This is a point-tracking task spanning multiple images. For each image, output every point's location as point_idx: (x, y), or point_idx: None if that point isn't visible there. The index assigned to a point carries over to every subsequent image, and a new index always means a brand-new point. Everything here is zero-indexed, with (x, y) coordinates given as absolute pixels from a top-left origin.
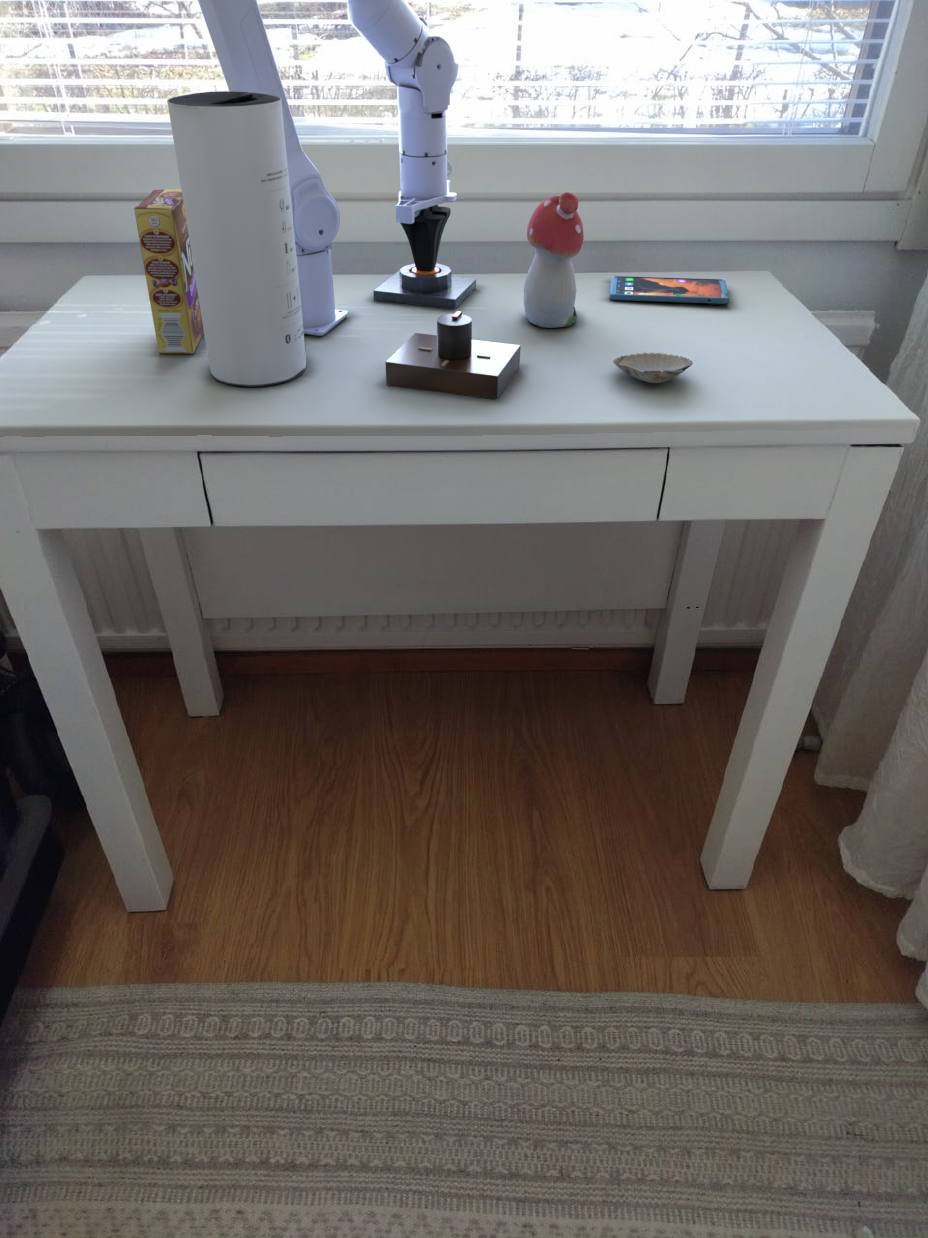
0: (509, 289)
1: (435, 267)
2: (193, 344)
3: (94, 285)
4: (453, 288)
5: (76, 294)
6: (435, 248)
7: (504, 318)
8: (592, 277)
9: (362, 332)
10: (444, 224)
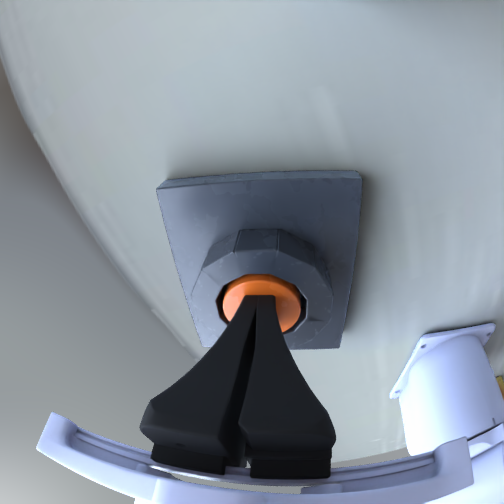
0: (134, 97)
1: (231, 295)
2: (501, 381)
3: (339, 460)
4: (268, 214)
5: (360, 457)
6: (265, 337)
7: (379, 29)
8: (14, 16)
9: (486, 289)
10: (196, 385)
